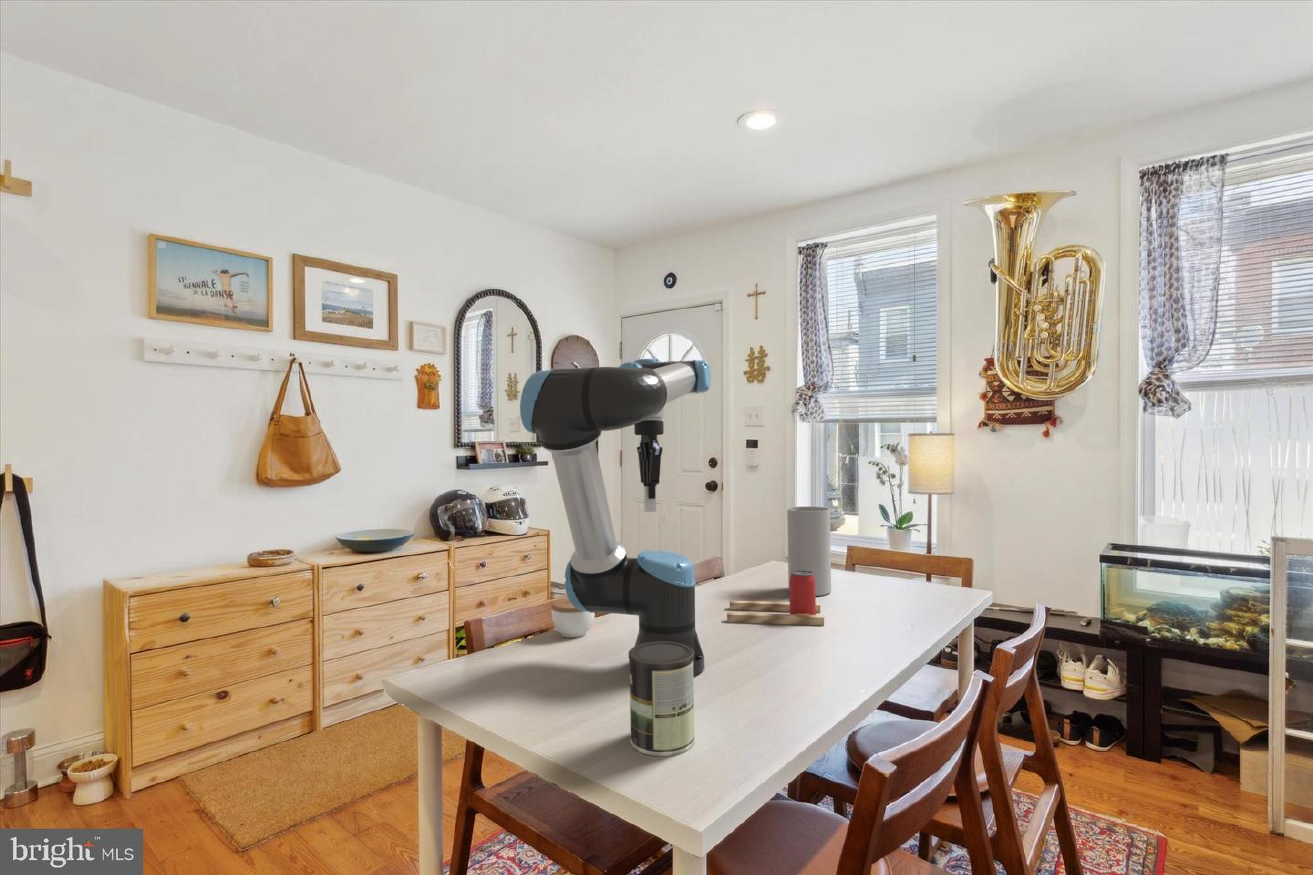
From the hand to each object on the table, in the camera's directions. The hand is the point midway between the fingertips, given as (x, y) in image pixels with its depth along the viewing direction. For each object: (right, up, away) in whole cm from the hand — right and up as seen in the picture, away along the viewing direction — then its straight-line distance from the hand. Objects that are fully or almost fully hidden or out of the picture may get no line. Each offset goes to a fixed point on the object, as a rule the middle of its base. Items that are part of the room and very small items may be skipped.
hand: (650, 511), depth 164 cm
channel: (+33, -28, +3) cm, 43 cm away
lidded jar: (-19, -29, -9) cm, 36 cm away
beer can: (+39, -28, 0) cm, 48 cm away
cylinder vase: (+48, -28, +28) cm, 62 cm away
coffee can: (+3, -29, -64) cm, 70 cm away
